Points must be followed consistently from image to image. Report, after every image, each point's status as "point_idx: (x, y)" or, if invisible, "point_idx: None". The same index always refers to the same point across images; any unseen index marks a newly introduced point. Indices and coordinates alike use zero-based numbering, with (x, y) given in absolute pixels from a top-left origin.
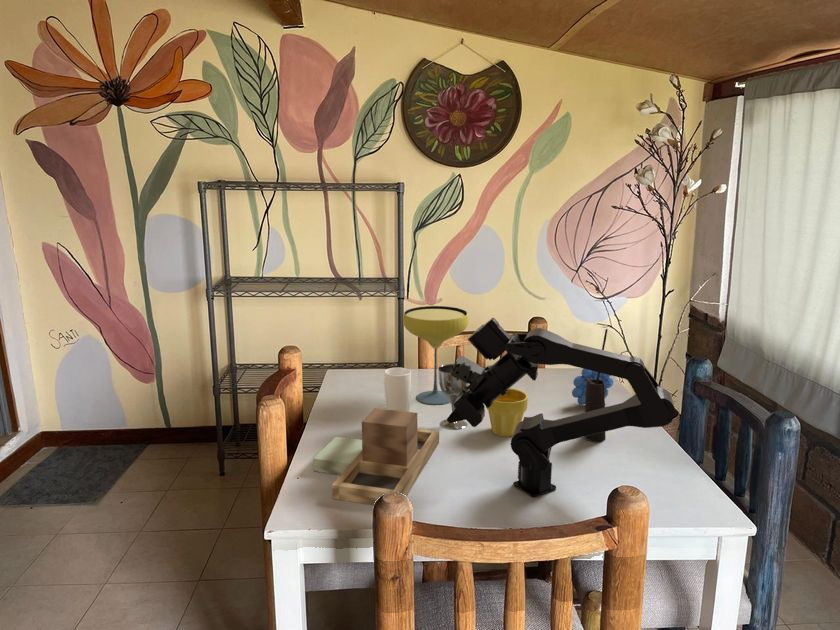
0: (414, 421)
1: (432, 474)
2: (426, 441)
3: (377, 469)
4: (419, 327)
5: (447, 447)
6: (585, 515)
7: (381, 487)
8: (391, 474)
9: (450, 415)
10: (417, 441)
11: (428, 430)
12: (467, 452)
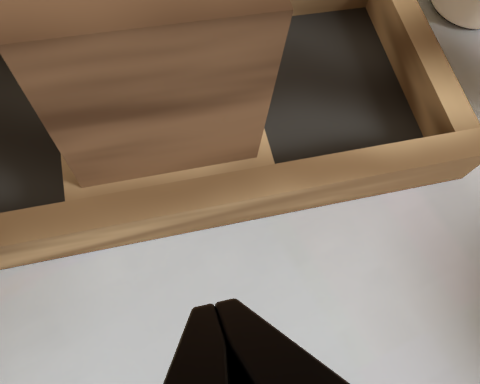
0: (215, 47)
1: (187, 285)
2: (363, 150)
3: None
4: None
5: (448, 226)
6: None
7: None
8: None
9: (175, 362)
10: (404, 104)
11: (466, 110)
12: (466, 330)
